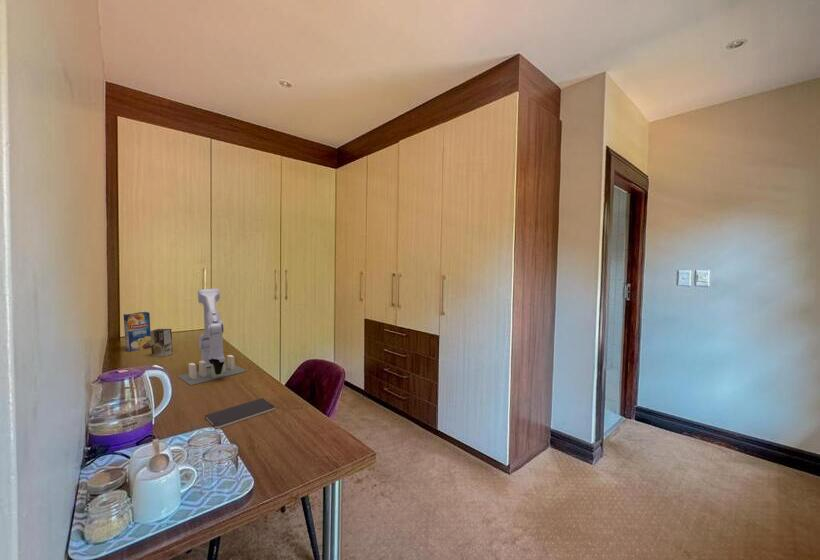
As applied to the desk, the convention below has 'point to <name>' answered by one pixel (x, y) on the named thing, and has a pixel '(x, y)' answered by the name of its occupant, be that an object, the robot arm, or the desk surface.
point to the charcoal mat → (209, 375)
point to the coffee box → (161, 342)
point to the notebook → (239, 413)
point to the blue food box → (137, 331)
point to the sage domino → (215, 373)
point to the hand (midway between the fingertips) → (217, 373)
